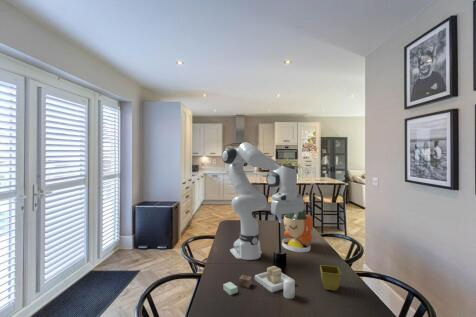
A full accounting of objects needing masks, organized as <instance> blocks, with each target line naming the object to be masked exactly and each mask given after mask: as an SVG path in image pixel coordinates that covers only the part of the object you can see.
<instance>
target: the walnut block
mask: <svg viewBox="0 0 476 317" xmlns="http://www.w3.org/2000/svg"><path fill="white" fill-rule="evenodd" d="M251 285H252V276H250V275H244V274H242V275H241V276H240V277H239V278H238V286H239V287H243V288H247V289H249V288H250V286H251Z"/></svg>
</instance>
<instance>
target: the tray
mask: <svg viewBox="0 0 476 317" xmlns="http://www.w3.org/2000/svg"><path fill="white" fill-rule="evenodd" d="M285 278H291V277H290V276H288V275H287V274H284V273H283V272H281V282H278V283H275V284H273V283H271V282H270V281H268V280H267V271H265V272H261V273H258V274H255V275H254V280H255V282H257V283H259V284H260V285H261V286H262V285H263V288H265V289H266V290H267V291H269V292H271V293H275V292H279V291H281V290H283V285H284V279H285Z"/></svg>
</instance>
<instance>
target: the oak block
mask: <svg viewBox="0 0 476 317" xmlns="http://www.w3.org/2000/svg"><path fill="white" fill-rule="evenodd" d="M266 272H267V280H268V281H270V282H271V283H273V284H275V283H278V282H281V273H282V269H281V268H280V267H278V266H276V265H272V266H268V267H266Z"/></svg>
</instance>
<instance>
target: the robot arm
mask: <svg viewBox="0 0 476 317" xmlns="http://www.w3.org/2000/svg"><path fill="white" fill-rule="evenodd" d="M221 159H222V162H223V163H224V164H226V165H228V167H227V174H228V177H229V179H230V183H231V185H232V187H233V190H234V191H235V192H236V193H238V194H239V195H237V196H235V197H232V200H231V206H230V207H231V208H232V211H234V213H236V214H237V215H238V218H239V220H240V232H239V233H238V236H239V237H238V239H236V240H235V241H234V243H233V247H231V248H230V249H229V251H230V253H231V254H232V255H233V256H234V258H236V259H237V260H246V261H249V260H250V261H252V260H258V259H259V258H261V256H262V253H263V252H262V250H261V241H260V233H259V221H258V219H256V218H255V217H254V216H253V212H257V211H261V210H263V209H265V208H266V207H267V205H268V199H267V197H266V195H264V194H262V193H261V192H259V191H258V190H257V189H256V188H255V187H254V186H253V185H252V183H251V181H250V180H249V178H248V176H247V174H246V172H245V169H244V167H247V166H248V165H249V166H250V167H253V168H258V169H266V170H269V171H268V173H267V174H266V177H265V178H266V183H267V185H268V186H269V188H277V189H279V191H278V192H275V193H274V194H272V195H271V199H272V200H271V204H270V213H271V214H272V215H274V216H276V217H277V218H278V223H280V224H284V218H282V215H286V214H288V213H294V217H292V218H293V219H292V220H293V221H296V220H297V216H298V213H299V212H303V210H305V209H304V208H305V204H304V203H303V200H304V196H303V195H302V194H298V190H297V183H298V174H297V168H296V167H295V166H293V165H292V164H280V163H279V162H277V161H276V160H274V159H273V158H271V157H269V156H268V155H267V154H265V153H264V152H263V151H261V150H259V149H258V148H257V147H256V146H254V145H253V144H252V143H249V142H247V141H244V142H242V143H241V144H239V146H238V147H229V148H224V150H223V151H222V153H221Z"/></svg>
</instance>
